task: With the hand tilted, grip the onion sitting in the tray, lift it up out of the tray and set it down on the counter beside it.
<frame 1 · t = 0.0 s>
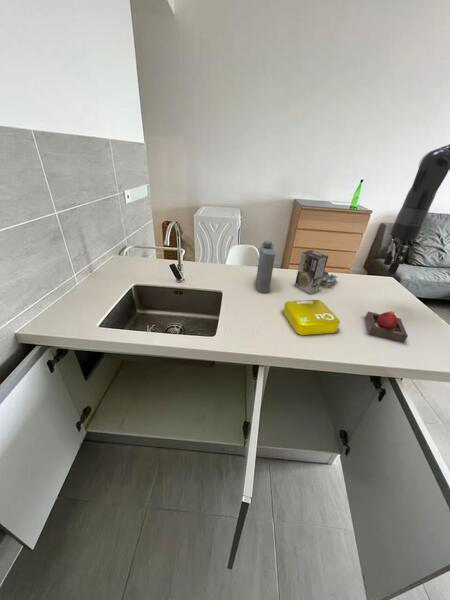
hand: (388, 268, 86), 18 cm above the worktop, tool pointing down, fingers open, 8 cm apart
coffee box: (306, 288, 109), on the worktop
element tile: (308, 321, 88), on the worktop
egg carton: (325, 282, 115), on the worktop
flask: (262, 285, 110), on the worktop
onion: (382, 330, 85), resting in tray
tray: (383, 329, 85), on the worktop
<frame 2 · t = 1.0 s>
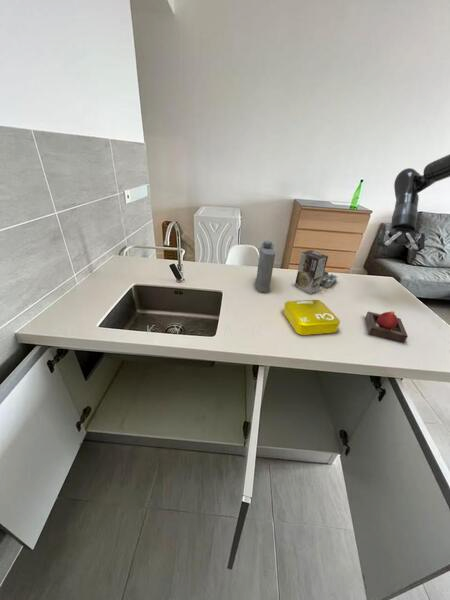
hand: (397, 258, 87), 21 cm above the worktop, tool tilted 45°, fingers open, 8 cm apart
nothing on the worktop moved.
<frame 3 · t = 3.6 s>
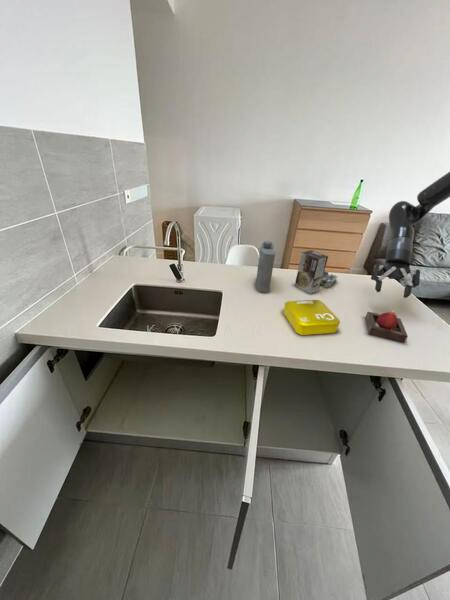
hand: (392, 294, 85), 11 cm above the worktop, tool tilted 45°, fingers open, 8 cm apart
nothing on the worktop moved.
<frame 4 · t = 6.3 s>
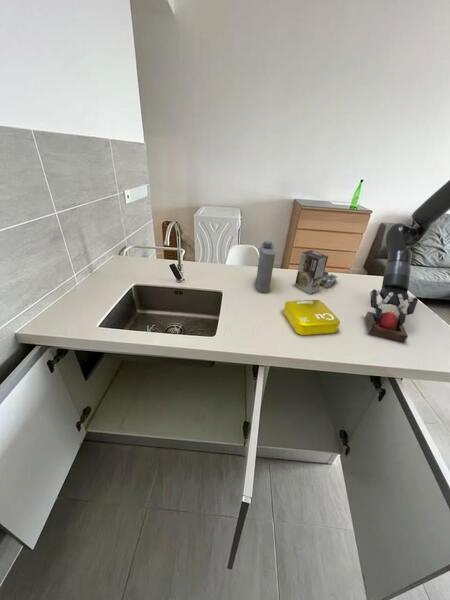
hand: (389, 322, 82), 4 cm above the worktop, tool tilted 45°, fingers closed on onion, 5 cm apart
onion: (382, 330, 85), resting in tray, touching gripper
everything else where it was.
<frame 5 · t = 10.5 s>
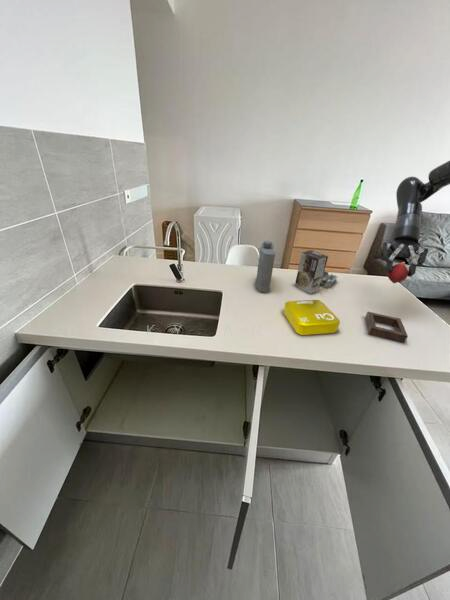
hand: (399, 273, 82), 18 cm above the worktop, tool tilted 45°, fingers closed on onion, 5 cm apart
onion: (393, 283, 86), point 14 cm above the worktop, touching gripper
everything else where it was.
when the fingers open (4 cm above the worktop, at t = 15.1 s): onion stays where it is, on the worktop.
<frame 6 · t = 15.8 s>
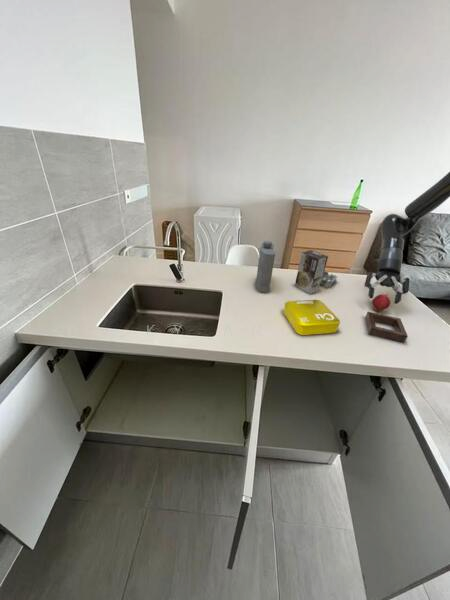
hand: (383, 300, 92), 5 cm above the worktop, tool tilted 45°, fingers open, 8 cm apart
onion: (377, 311, 96), on the worktop
everything else where it was.
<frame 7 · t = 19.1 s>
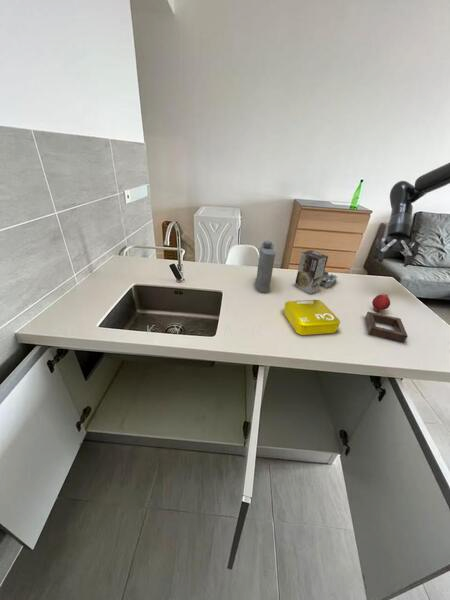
hand: (393, 263, 94), 17 cm above the worktop, tool tilted 45°, fingers open, 8 cm apart
nothing on the worktop moved.
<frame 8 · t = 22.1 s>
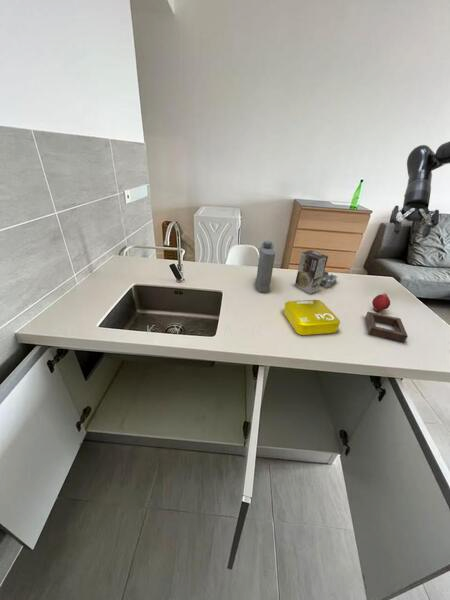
hand: (411, 234, 86), 29 cm above the worktop, tool tilted 45°, fingers open, 8 cm apart
nothing on the worktop moved.
at the end: onion inside the target area (0.2 cm from its centre), on the worktop; onion touching worktop; the gripper is holding nothing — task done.
